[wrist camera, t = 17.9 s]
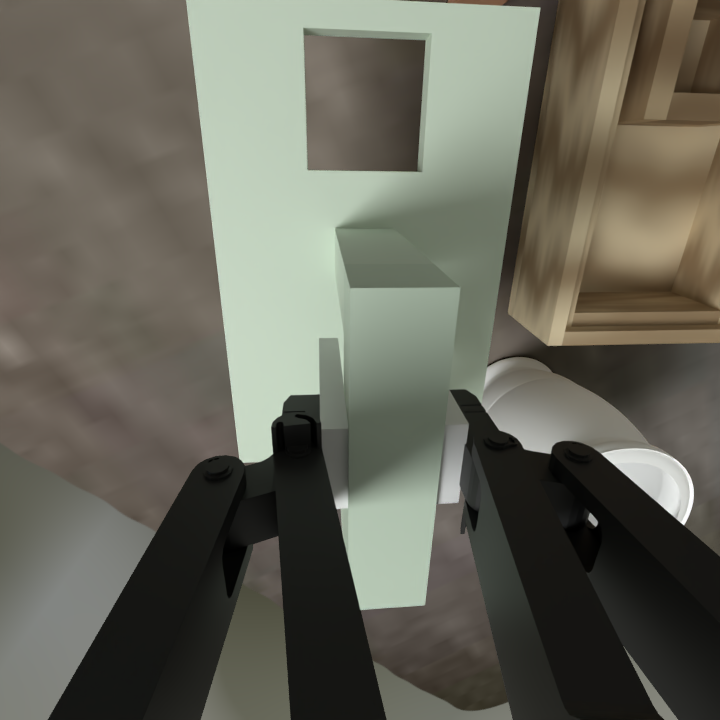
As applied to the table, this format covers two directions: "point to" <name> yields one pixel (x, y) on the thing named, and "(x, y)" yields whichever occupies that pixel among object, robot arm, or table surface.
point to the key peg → (479, 2)
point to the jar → (580, 428)
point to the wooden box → (625, 179)
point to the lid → (362, 247)
